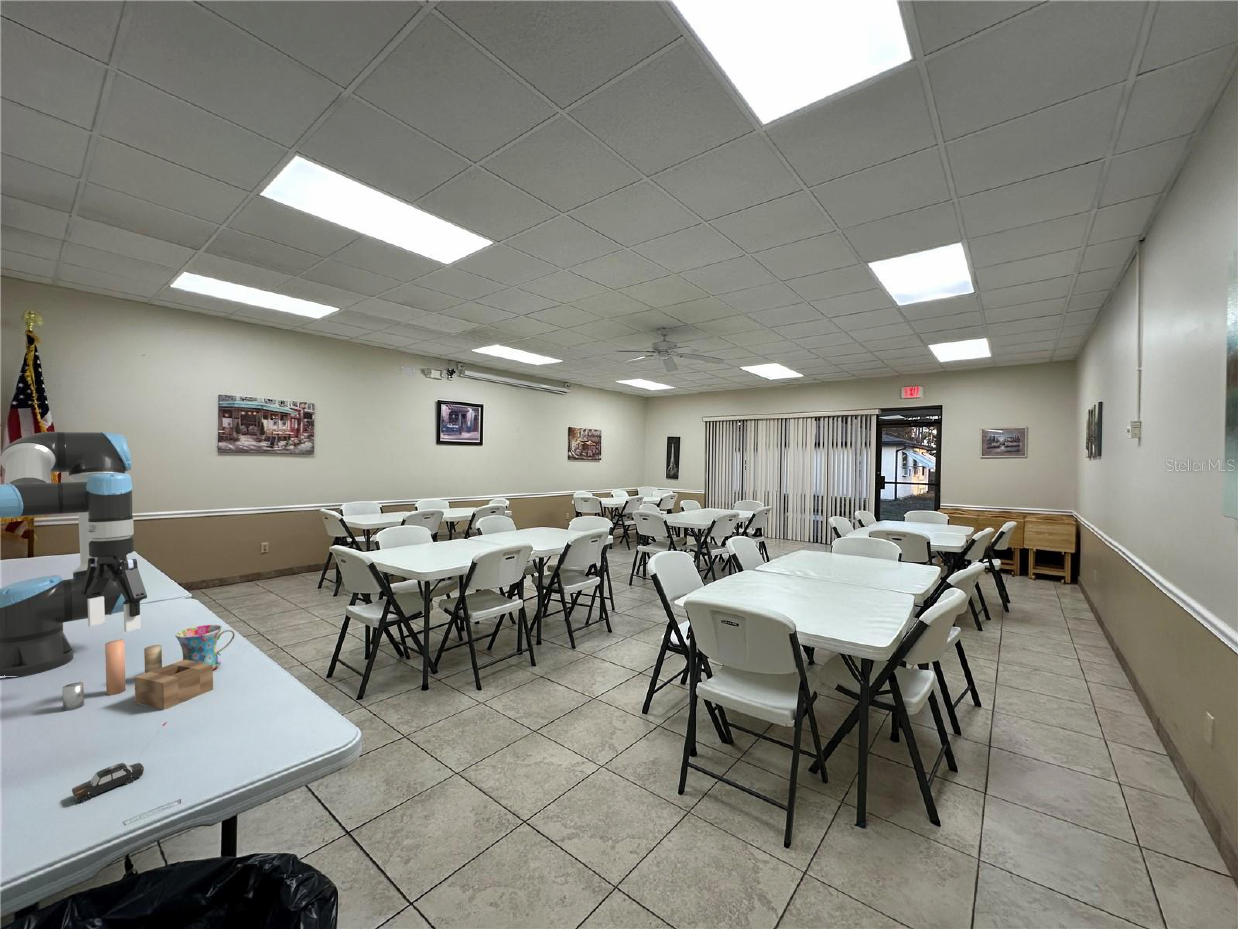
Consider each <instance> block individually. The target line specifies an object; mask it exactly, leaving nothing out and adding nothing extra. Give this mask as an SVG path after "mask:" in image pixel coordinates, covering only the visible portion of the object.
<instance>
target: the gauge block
mask: <svg viewBox="0 0 1238 929" xmlns="http://www.w3.org/2000/svg"><path fill="white" fill-rule="evenodd" d="M213 690H214V672H213V665H211V664H206V663H200V662H195V661H190V660H183V659H182V660H180V661H176V662H174V663H170V664H168V665H165V666H162V668H159V669H156V670H153V671H150V672H147V673H145V672H144V673H143V674H142V673H141V674H139V675H136V676H134V698H135V699H134V700H135V701H134V702H135V703H134V704H138V705H143V706H148V707H151V708H155V709H160V710H168V709H170V708H172V707H174V706H176V705H179V704H181V703H183V702H187V701H188V700H191V699H193V698H196V697H198V696H201V695H203V694H205V693H208V692H210V691H213Z"/></svg>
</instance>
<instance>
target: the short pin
mask: <svg viewBox="0 0 1238 929" xmlns="http://www.w3.org/2000/svg"><path fill="white" fill-rule="evenodd" d="M61 690H62V710H63V712H70V711H74V710H78V709H80V708H82V707H84V706H85V695H84V694H85V691H84V690H85V689H84V682H83V681H77V682H73V683H70V684H66V685H64V686H63V687H62V689H61Z"/></svg>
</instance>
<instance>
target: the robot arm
mask: <svg viewBox="0 0 1238 929" xmlns="http://www.w3.org/2000/svg"><path fill="white" fill-rule="evenodd" d="M0 464H1V466H2V468H3V469H4V470H5V473H4V483H3V484H0V518H19V517H20V518H21V517H23V518H24V517H36V516H50V515H62V514H64V515H65V514H78V516H77V517H78V534H79V535H78V538H79V556H80V557H79V560H80V561H79V562H80V565H79V567H76V569H74V571H72V578H70V579H69V578H68V579H63V577H62V576H61V574H60V575H59V574H55V575H54V574H53V575H47V576H46V575H45V576H40V577H35V578H29V579H25V580H20V581H18V582H13V583H11V584H8V585H5V586H3V587H1V588H0V676H4V675H5V676H20V677H25V676H30V675H34V674H38V673H41V672H42V673H43V672H46V671H49V670H53V669H55V668H58V667H61V666H63V665H65V664H67V663H69V662H72V660H74V658H75V657H74V649H73V647H72V645H71V643H70V642H69V640H68V638H67V636H66V635H65V632H64V623H68V622H74V621H80V620H86V619H88V620H87V624H88V627H93V626H99V625H101V624H105V622H106V618H105V617H106V616H112V615H113V614H119V613H122V612H123V627H124V628H123V631H124V633H128V632H131V631H135V630H139V629H141V627H142V625H141V622H142V621H141V602H142V600H145V599H147V598H148V594H147V591H146V588H145V585H144V583H143V579H142V577H141V573H140V571H139V568H138V561H137V559H136V558H132V559H128V558H127V557H128V556H127V555H129V554H132V553H133V552H134V551H135V539H134V538H133V537H132V536H133V535H134V532H135V530H134V529H135V527H134V516H133V488H134V485H133V482H132V481H133V480H132V476H131V475H130V474H129V473H126V472H128V471H131V470H132V466H133V465H132V457H131V452H130V448H129V445H128V442H127V440H126V438H125V436H124V435H122V434H120V433H113V432H112V433H111V432H104V431H101V432H96V431H95V432H90V431H89V432H80V431H79V432H77V431H75V432H73V431H72V432H71V431H67V432H66V431H65V432H64V431H43V432H38V433H34V434H30V435H29V434H28V435H26V436H24V437H21V438H17V439H16V440H14V441H12V442H11V443H9V444H8V445H7V446H6V447H5V448H4V449H3V450H2V452H1V454H0ZM52 473H68V479H70V482H69V481H68V482H66V481H65V482H52ZM72 481H73V482H72ZM24 675H25V676H24Z"/></svg>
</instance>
